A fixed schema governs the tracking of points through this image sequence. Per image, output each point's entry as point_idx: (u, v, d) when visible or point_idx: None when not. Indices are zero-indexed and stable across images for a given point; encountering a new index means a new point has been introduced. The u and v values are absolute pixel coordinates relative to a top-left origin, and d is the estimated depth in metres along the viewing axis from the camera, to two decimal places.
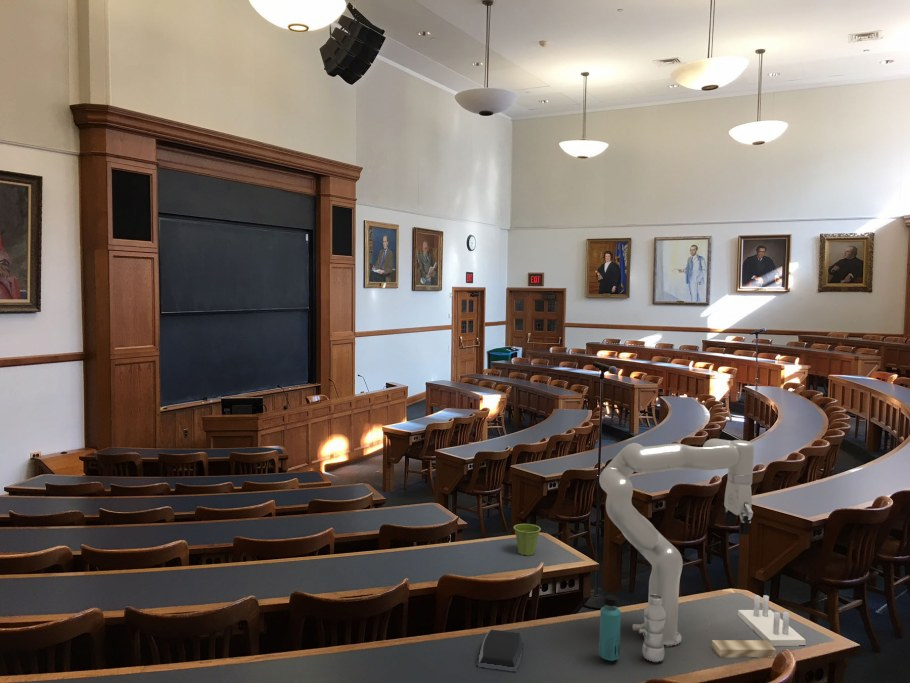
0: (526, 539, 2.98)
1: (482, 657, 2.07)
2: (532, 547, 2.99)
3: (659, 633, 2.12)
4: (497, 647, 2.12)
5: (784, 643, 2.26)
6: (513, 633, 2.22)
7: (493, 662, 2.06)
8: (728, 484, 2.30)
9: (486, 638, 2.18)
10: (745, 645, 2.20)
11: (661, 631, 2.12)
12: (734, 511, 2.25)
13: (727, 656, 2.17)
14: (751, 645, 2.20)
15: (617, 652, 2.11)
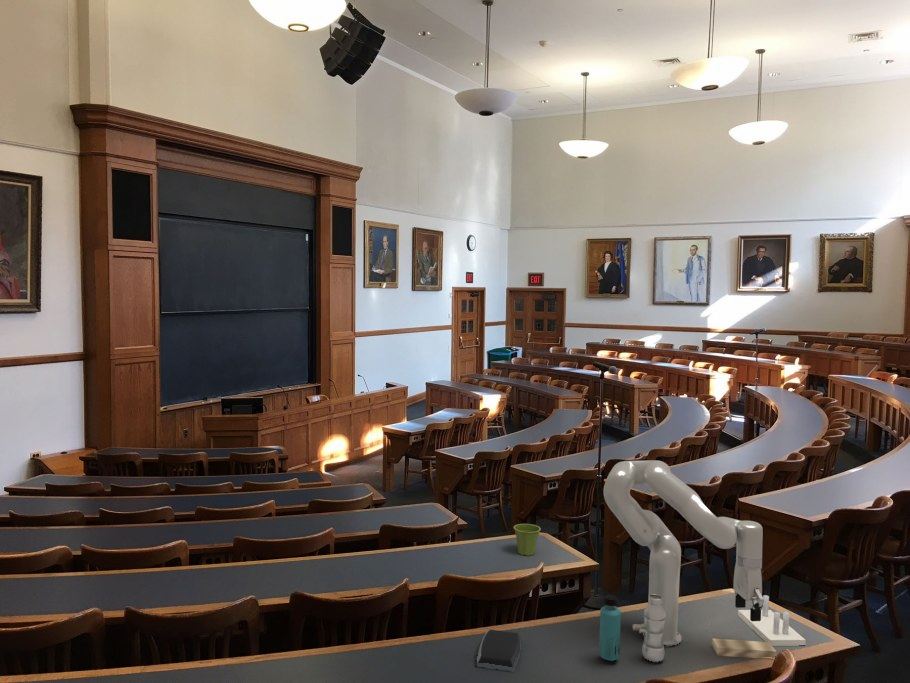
0: (526, 539, 2.98)
1: (480, 657, 2.07)
2: (532, 547, 2.99)
3: (659, 633, 2.12)
4: (496, 646, 2.13)
5: (784, 643, 2.26)
6: (511, 633, 2.22)
7: (491, 662, 2.06)
8: (737, 566, 2.21)
9: (484, 638, 2.18)
10: (745, 645, 2.20)
11: (661, 631, 2.12)
12: (744, 596, 2.16)
13: (725, 655, 2.18)
14: (751, 646, 2.20)
15: (617, 652, 2.11)
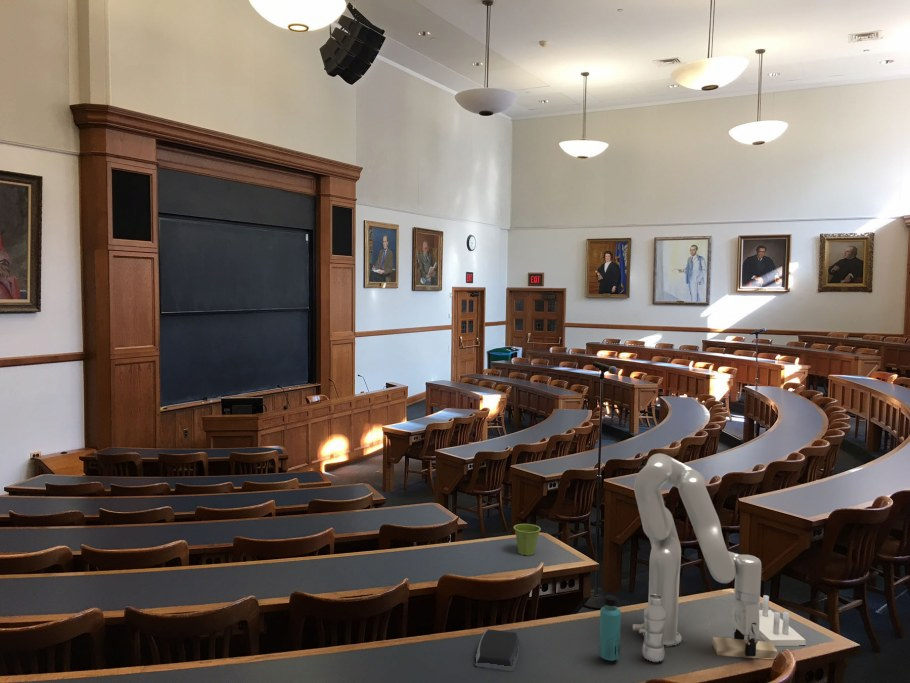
0: (526, 539, 2.98)
1: (479, 657, 2.08)
2: (532, 547, 2.99)
3: (659, 633, 2.12)
4: (494, 646, 2.13)
5: (784, 643, 2.26)
6: (510, 633, 2.22)
7: (490, 662, 2.07)
8: (735, 600, 2.22)
9: (483, 638, 2.18)
10: None
11: (661, 631, 2.12)
12: (741, 631, 2.17)
13: (725, 653, 2.18)
14: None
15: (617, 652, 2.11)
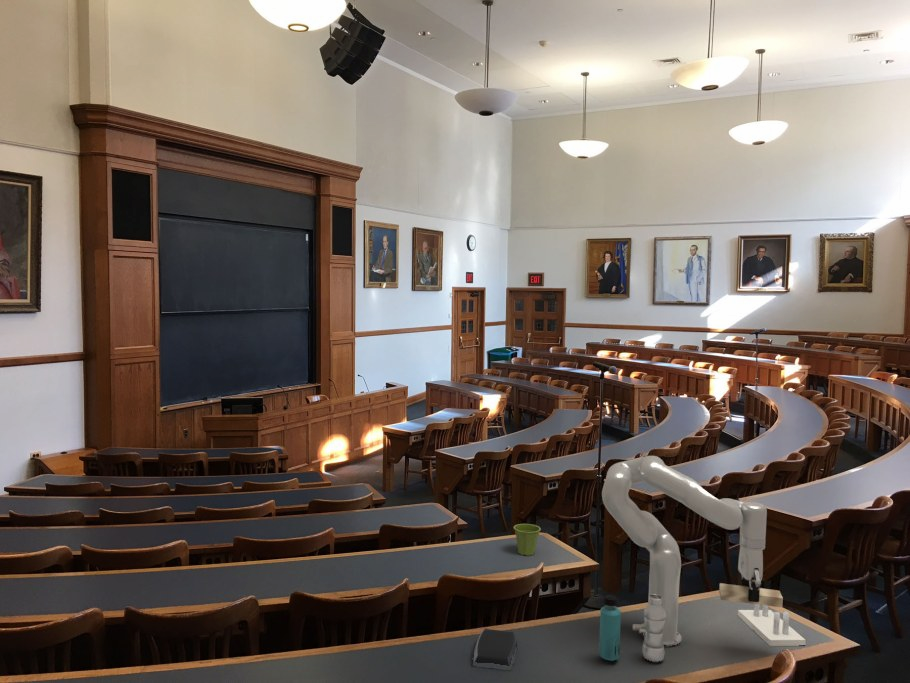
0: (526, 539, 2.98)
1: (477, 656, 2.08)
2: (532, 547, 2.99)
3: (659, 633, 2.12)
4: (492, 646, 2.13)
5: (784, 643, 2.26)
6: (507, 632, 2.23)
7: (488, 661, 2.07)
8: (741, 547, 2.23)
9: (480, 637, 2.18)
10: None
11: (661, 631, 2.12)
12: (744, 576, 2.18)
13: (729, 598, 2.20)
14: None
15: (617, 652, 2.11)
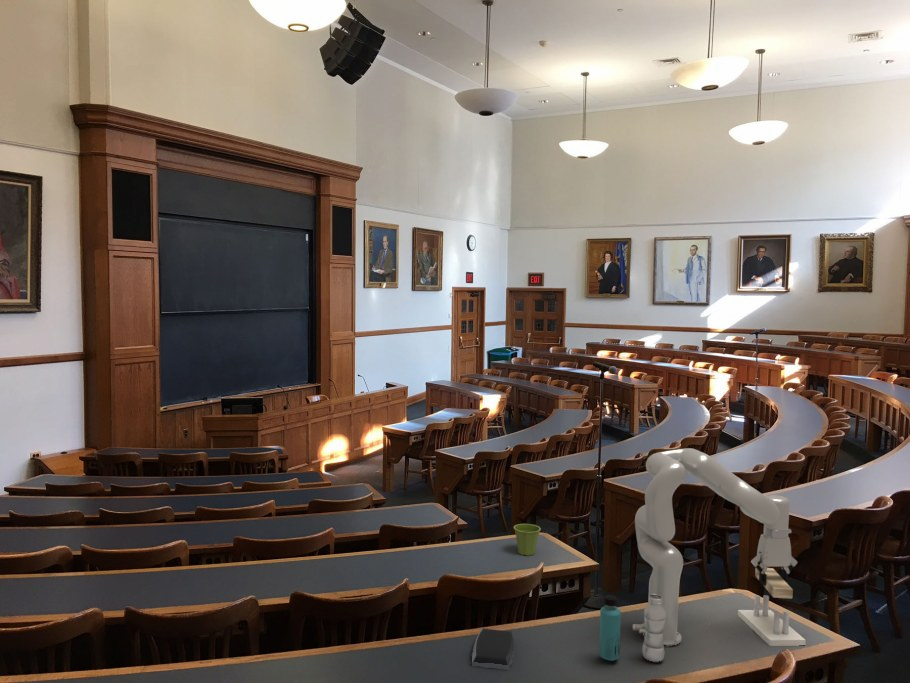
0: (526, 539, 2.98)
1: (475, 656, 2.08)
2: (532, 547, 2.99)
3: (659, 633, 2.12)
4: (490, 645, 2.13)
5: (784, 643, 2.26)
6: (505, 632, 2.23)
7: (486, 661, 2.07)
8: None
9: (478, 637, 2.18)
10: (772, 578, 2.35)
11: (661, 631, 2.12)
12: None
13: (757, 576, 2.43)
14: (774, 580, 2.33)
15: (617, 652, 2.11)
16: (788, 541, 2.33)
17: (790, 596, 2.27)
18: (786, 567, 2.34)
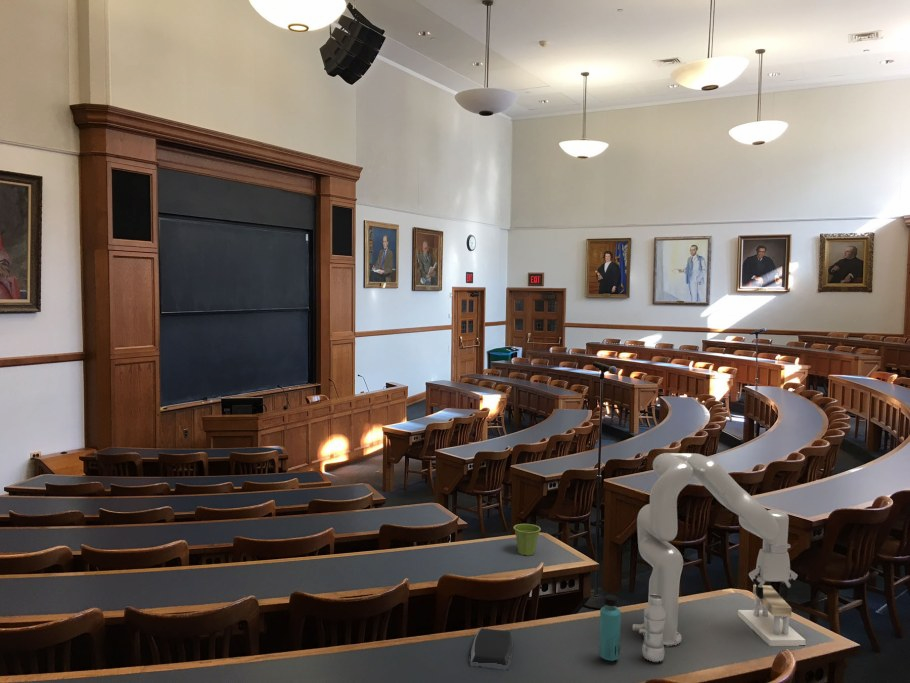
0: (526, 539, 2.98)
1: (474, 656, 2.08)
2: (532, 547, 2.99)
3: (659, 633, 2.12)
4: (489, 645, 2.13)
5: (784, 643, 2.26)
6: (503, 631, 2.23)
7: (485, 661, 2.07)
8: None
9: (477, 637, 2.18)
10: (770, 596, 2.36)
11: (661, 631, 2.12)
12: None
13: (755, 593, 2.43)
14: (772, 598, 2.34)
15: (617, 652, 2.11)
16: (787, 556, 2.33)
17: (789, 614, 2.27)
18: (786, 581, 2.35)
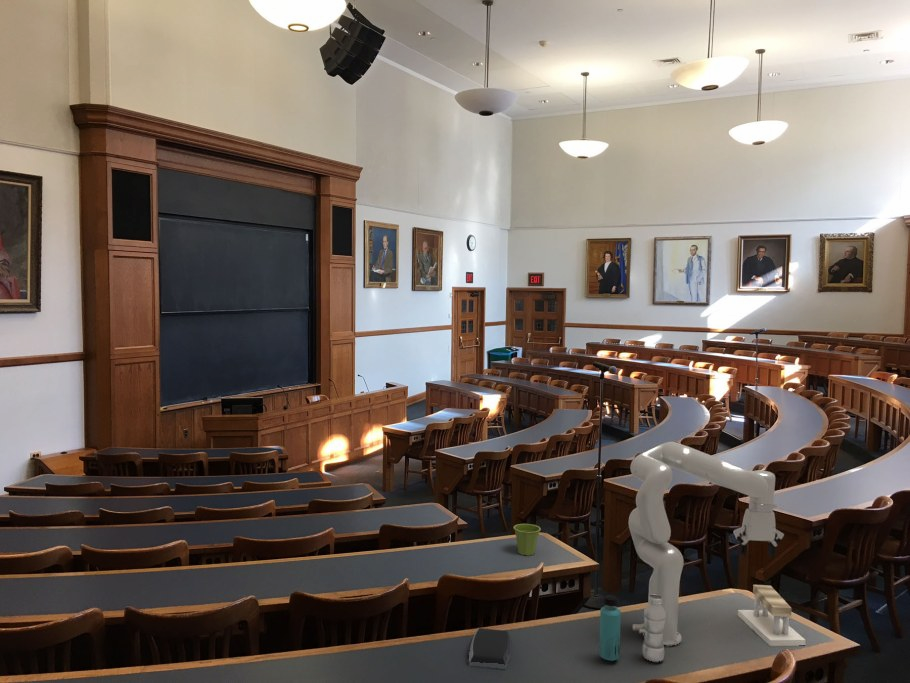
0: (526, 539, 2.98)
1: (472, 656, 2.08)
2: (532, 547, 2.99)
3: (659, 633, 2.12)
4: (487, 645, 2.14)
5: (784, 643, 2.26)
6: (501, 631, 2.23)
7: (484, 660, 2.07)
8: None
9: (475, 637, 2.18)
10: (770, 596, 2.36)
11: (661, 631, 2.12)
12: None
13: (755, 593, 2.43)
14: (772, 598, 2.34)
15: (617, 652, 2.11)
16: (773, 516, 2.36)
17: (789, 614, 2.27)
18: (772, 540, 2.37)
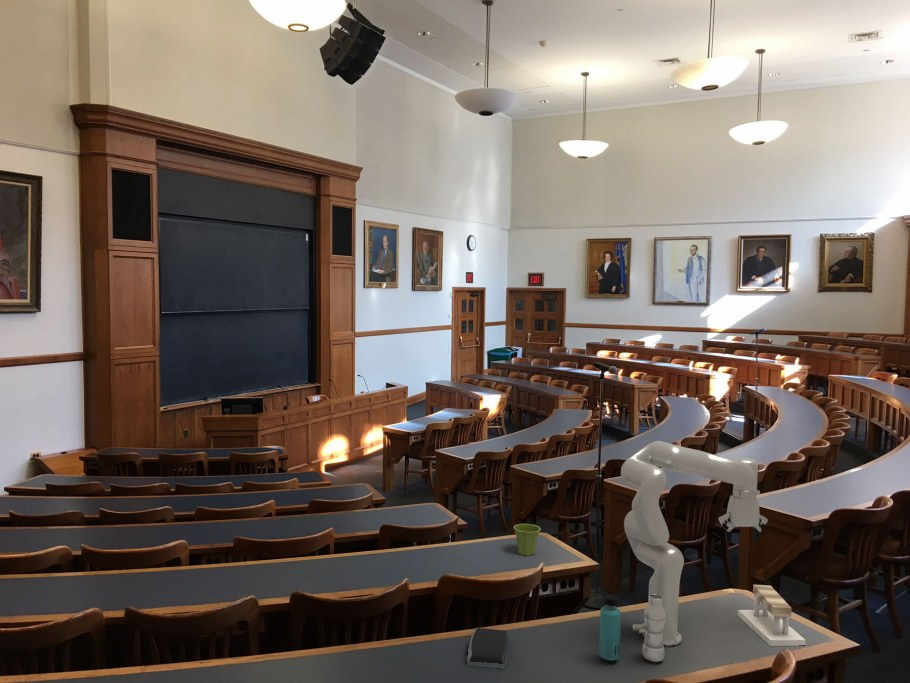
0: (526, 539, 2.98)
1: (471, 656, 2.08)
2: (532, 547, 2.99)
3: (659, 633, 2.12)
4: (485, 645, 2.14)
5: (784, 643, 2.26)
6: (499, 631, 2.23)
7: (482, 660, 2.07)
8: None
9: (473, 636, 2.18)
10: (770, 596, 2.36)
11: (661, 631, 2.12)
12: None
13: (755, 593, 2.43)
14: (772, 598, 2.34)
15: (617, 652, 2.11)
16: (756, 502, 2.39)
17: (789, 614, 2.27)
18: (757, 526, 2.40)
